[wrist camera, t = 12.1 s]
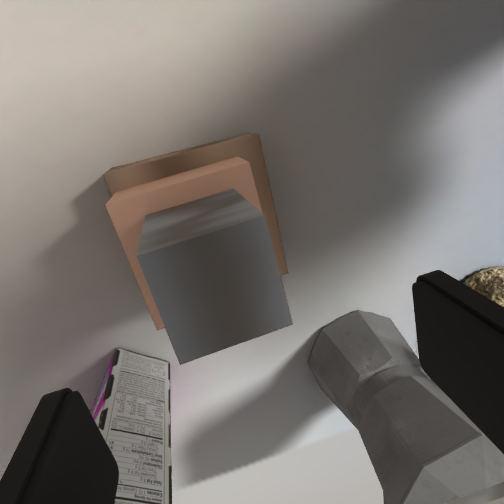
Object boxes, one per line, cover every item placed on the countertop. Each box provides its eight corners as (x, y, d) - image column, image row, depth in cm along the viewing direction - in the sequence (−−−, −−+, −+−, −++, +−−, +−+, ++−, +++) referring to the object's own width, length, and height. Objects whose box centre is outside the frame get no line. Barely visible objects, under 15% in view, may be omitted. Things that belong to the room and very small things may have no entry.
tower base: (247, 133, 28) (258, 134, 24) (274, 255, 31) (288, 273, 28) (112, 167, 27) (103, 174, 23) (156, 290, 30) (154, 313, 27)
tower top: (237, 156, 24) (249, 161, 21) (267, 266, 27) (282, 288, 23) (115, 192, 24) (105, 204, 20) (159, 301, 26) (157, 330, 23)
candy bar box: (131, 460, 34) (98, 726, 19) (74, 450, 33) (-10, 731, 18) (175, 358, 32) (177, 571, 17) (116, 343, 31) (60, 561, 15)
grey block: (233, 188, 21) (264, 215, 14) (255, 268, 23) (292, 324, 16) (145, 215, 20) (136, 256, 14) (175, 295, 22) (180, 364, 16)
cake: (421, 301, 36) (461, 329, 31) (511, 244, 35) (566, 263, 30) (453, 371, 39) (494, 407, 34) (535, 319, 39) (588, 348, 34)
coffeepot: (338, 422, 38) (469, 657, 21) (272, 378, 35) (364, 615, 18) (448, 311, 36) (684, 471, 19) (388, 253, 33) (611, 386, 16)
